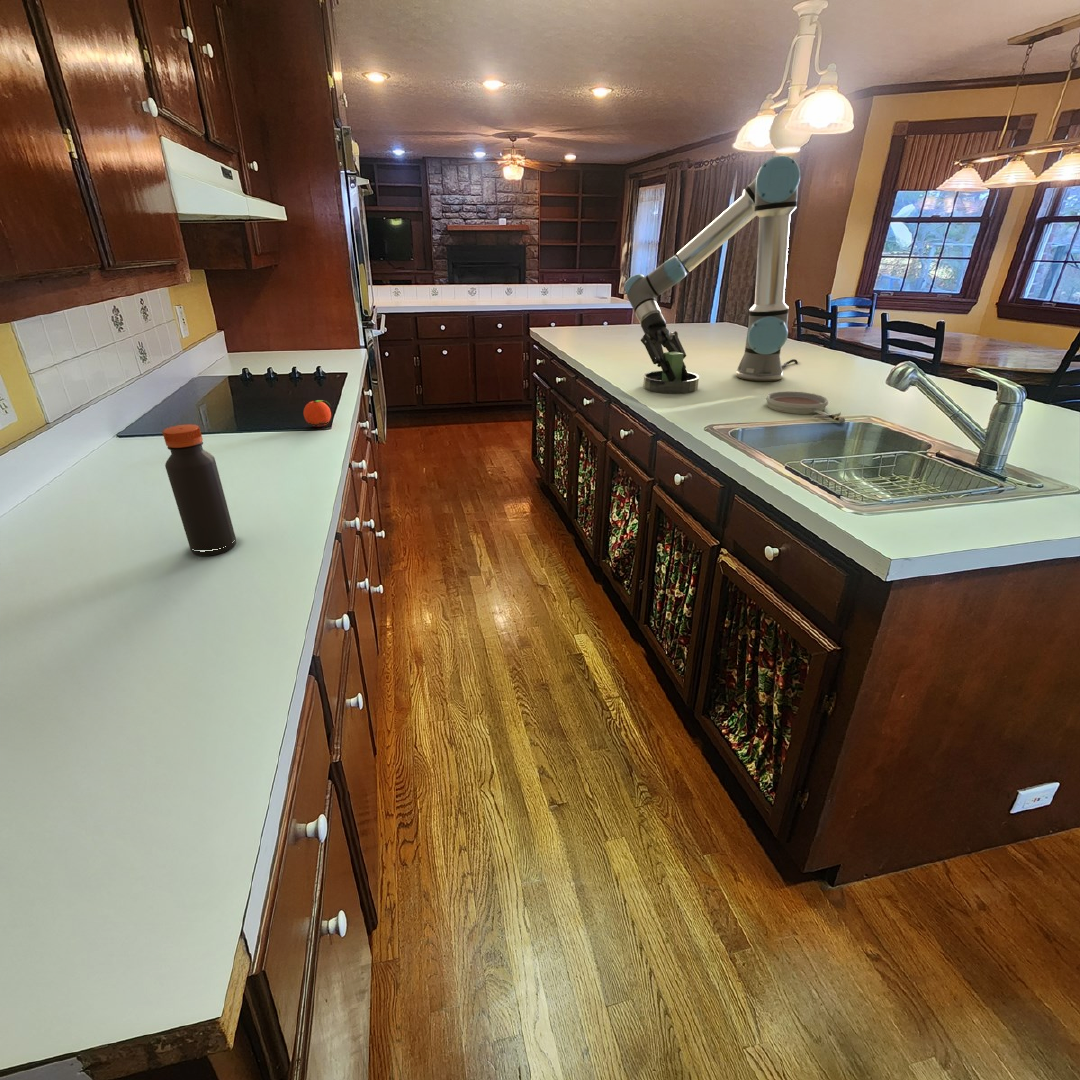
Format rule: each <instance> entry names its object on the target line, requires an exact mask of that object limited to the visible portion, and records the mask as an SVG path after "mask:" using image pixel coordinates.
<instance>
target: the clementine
mask: <svg viewBox="0 0 1080 1080" xmlns="http://www.w3.org/2000/svg"><path fill="white" fill-rule="evenodd" d="M325 402H326V403H327V404H328V405H329V406H331V404H330V403H329V402H328V401H327V400H323V399H317V400H316V399H314V400H312V401H309V402H308V403H307V404H306V405H305V406H304V408H303V418H304V420H305V422H306V423H307V424H309V423H311V424H319V423H327V422H328V423H330V421H331V418H332V412H331V408H330V407H329V406H328V405H327V404H326V403H325ZM328 423H327V424H328ZM327 424H324V425H317V426H315V425H311V426H312V427H315V428H323V427H325V426H326V425H327Z"/></svg>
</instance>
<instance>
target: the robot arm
mask: <svg viewBox="0 0 1080 1080" xmlns="http://www.w3.org/2000/svg"><path fill="white" fill-rule="evenodd" d="M801 176H802V175H801V169H800V165H799V164H798V162H797V161H796V160H795V159H794V158H792V157H791V156H788V155H782V154H781V155H780V154H779V155H776V156H772V157H770V158H768V159H766V161H765V162H763V163H762V164H761V166H760V167H759V169H758V170H757V173H756V176H755V178H754V179H753V180H752V181H751V182H750V183H749V184H748V185H747V186H746V187H745V188H744V189H743V190H742V195H741V196H740V197H739V198H738V199H737V200H735V201H734V202H733V203H732V204H731V205H730V206H728V208H726V209H725V210H724V211H723V212H722V213H721V214H719V215H718V216H717V217H716V218H715V219H714V220H713V221H712V222H710V223H709V224H708V225H707V226H706V227H705V228H704V229H703V230H701V231H700V232H699V233H698V234H697V235H696V236H694V237H693V238H692V239H691V240H690V241H689V242H688V243H687V244H686V245H684V246H683V247H682V248H681V249H680V250H679V251H677V253H676V254H674V255H673V256H672V257H670V258H669V259H667V260H665V261H664V262H663V263H662V264H660V265H659V266H657V267H656V268H655V269H654V270H653V271H651V272H650V273H648V274H646V275H645V276H644V275H643V274H640V273H636V274H635V275H632V276H630V277H629V278H628V279H627V280H626V281H625V283H624V286H623V288H624V291H625V294H626V298H627V299H628V301H629V303H630V305H631V307H632V310H633V311H634V314H635V316H636V318H637V320H638V323H639V324H640V328H641V329H642V332H643V333H644V334H643V335H642V337H641V339H640V342H641V343H642V344H643V346H644V348H645V350H646V351H647V354H648V355H649V357H650V360H651V362H652V364H653V365H656V366H657V367H658V368H661V371H663V372H664V373H665V374H666V376H667V378H668V380H669V381H674V380H675V378H676V377H675V374H674V372H673V370H672V368H671V366H670V364H669V362H668V361H665V356H664V353H665V352H664V349H663V348H665V349H666V350H667V352H679V353H684V355H683V360H684V359H685V358H686V357H687V354H686V350H685V349H684V347H683V345H682V342H681V341H680V338H679V333H678V331H676V330H675V331H674V332H673V331H672V332H671V331H670V329H668V328H667V321H666V319H665V317H664V315H663V313H662V311H661V308H660V307H659V305H658V302H657V300H656V298H658V297H659V296H660V295H662V294H663V293H665V292H666V291H668V290H670V289H671V288H672V287H674V286H675V285H677V284H679V283H681V281H682V280H683V279H684V278H686V277H687V275H688V274H689V273H690V272H692V271H693V270H694V269H695V268H696V267H698V266H699V265H700V264H701V263H702V262H704V261H705V260H706V259H707V258H708V257H709V256H711V255H712V254H713V253H715V251H716V250H718V249H719V248H720V247H721V246H723V244H725V243H726V242H727V241H728V240H730V239H731V238H732V237H733V236H734V235H735V234H737V233H738V232H739V231H740V230H741V229H743V228H744V227H745V226H746V225H747V224H749V222H751V221H752V220H753V219H755V217H758V236H757V237H758V238H757V253H756V254H757V255H756V270H755V271H756V272H755V287H754V288H755V290H754V304H753V305H752V306H751V307H750V308H749V310H748V325H747V332H746V339H745V347H744V353H743V356H742V358H741V360H740V362H739V364H738V366H737V369H736V372H735V377H736V378H738V379H741V380H745V381H750V382H751V381H752V382H775V381H780V380H781V379H782V377H783V369H784V368H786V367H787V365H789V364H792V363H794V364H799V362H798V359H793V358H792V359H789V360H787V361H786V362H784V363H783V365H782V359H781V350H782V348H783V346H784V345H785V343H787V340H788V338H789V337H788V336H789V330H788V322H789V305H787V304H786V303H785V294H786V293H785V292H786V290H785V289H786V279H787V264H788V254H789V253H788V251H789V249H788V248H789V240H790V239H789V237H790V223H791V215H792V214H793V212H794V211H795V210H796V209H797V206H798V205H797V204H798V193H799V185H800V181H801ZM687 372H688V371H687V366H686V364H685V362H684V361H683V367H682V378H681V379H682V381H685V380H686V379H687V378H688V377H689V375H688V373H687Z"/></svg>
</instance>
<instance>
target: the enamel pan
mask: <svg viewBox="0 0 1080 1080" xmlns="http://www.w3.org/2000/svg"><path fill="white" fill-rule="evenodd" d="M662 371H663V370H654V371H649V372H646V373H644V375H643V385H642V386H643V387H642V388H643V389H645V390H647V391H649V392H653V393H656V394H657V393H658V394H671V395H677V394H679V395H680V394H688V393H689V394H690V393H693V392H696V391H697V390H698V389H699V388H698V387H699V379H700V376H699V375H698V374H697V373H693V372H689V371H687V373H688V375H689V377H688V378H687V379H686V380H685V381H682V379H681V381H662Z"/></svg>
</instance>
